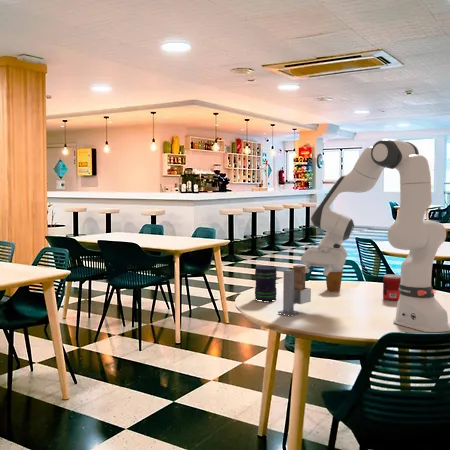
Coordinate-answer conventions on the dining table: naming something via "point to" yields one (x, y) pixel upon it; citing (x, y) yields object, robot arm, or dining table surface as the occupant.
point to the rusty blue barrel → (265, 283)
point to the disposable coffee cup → (334, 279)
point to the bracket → (293, 294)
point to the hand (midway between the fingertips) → (315, 273)
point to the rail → (299, 277)
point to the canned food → (391, 287)
